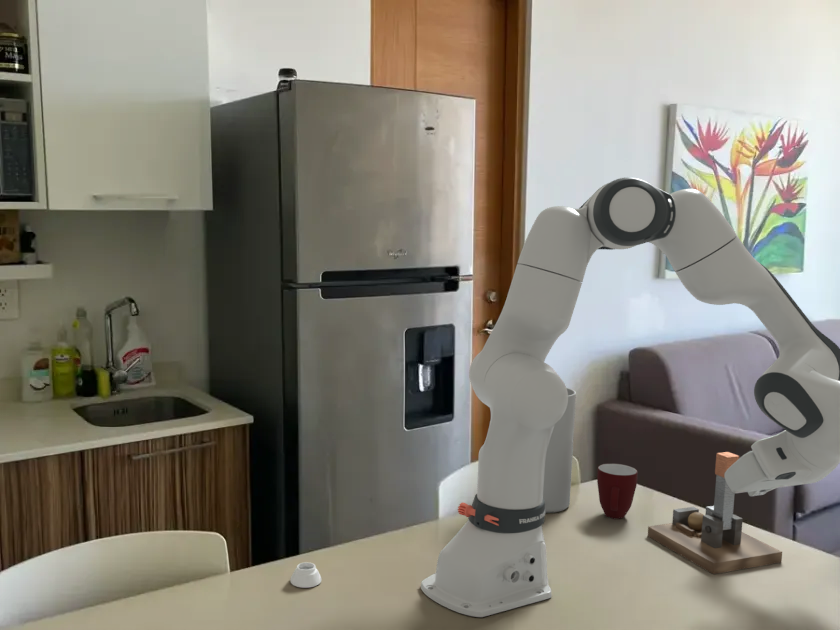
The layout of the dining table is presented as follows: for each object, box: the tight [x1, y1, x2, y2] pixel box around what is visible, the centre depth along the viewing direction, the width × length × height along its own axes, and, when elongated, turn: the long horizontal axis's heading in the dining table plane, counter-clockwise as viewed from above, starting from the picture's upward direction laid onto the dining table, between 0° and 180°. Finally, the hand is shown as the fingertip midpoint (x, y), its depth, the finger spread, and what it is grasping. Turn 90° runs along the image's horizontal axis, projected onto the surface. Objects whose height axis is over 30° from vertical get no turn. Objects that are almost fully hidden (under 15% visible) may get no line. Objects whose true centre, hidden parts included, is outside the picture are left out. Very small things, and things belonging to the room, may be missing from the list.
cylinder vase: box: [543, 387, 577, 514], centre depth 173 cm, size 12×12×25 cm
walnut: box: [688, 512, 704, 531], centre depth 157 cm, size 4×4×4 cm
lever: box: [704, 451, 740, 530], centre depth 151 cm, size 3×5×14 cm, turn 23°
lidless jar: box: [290, 561, 322, 589], centre depth 133 cm, size 5×3×5 cm
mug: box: [596, 463, 638, 520], centre depth 167 cm, size 11×8×10 cm
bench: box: [647, 506, 783, 575], centre depth 153 cm, size 16×18×7 cm
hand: (753, 491), depth 144 cm, fingers closed
